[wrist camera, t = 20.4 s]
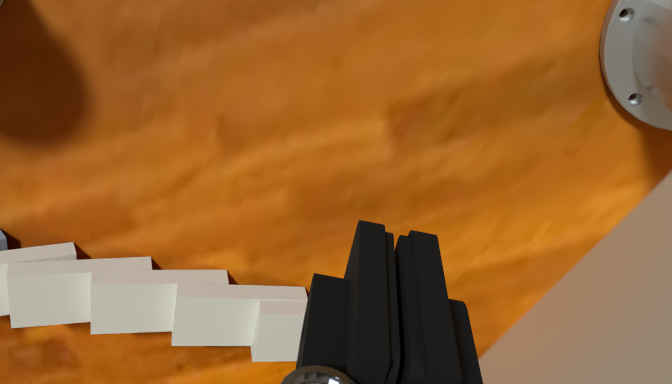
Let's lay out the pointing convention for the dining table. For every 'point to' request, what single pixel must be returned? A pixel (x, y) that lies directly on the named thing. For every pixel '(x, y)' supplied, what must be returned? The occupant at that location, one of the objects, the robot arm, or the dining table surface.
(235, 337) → the tile
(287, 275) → the dining table surface
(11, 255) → the tile
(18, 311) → the tile
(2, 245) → the tile
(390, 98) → the dining table surface
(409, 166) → the dining table surface
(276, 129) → the dining table surface
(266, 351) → the tile
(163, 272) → the tile
